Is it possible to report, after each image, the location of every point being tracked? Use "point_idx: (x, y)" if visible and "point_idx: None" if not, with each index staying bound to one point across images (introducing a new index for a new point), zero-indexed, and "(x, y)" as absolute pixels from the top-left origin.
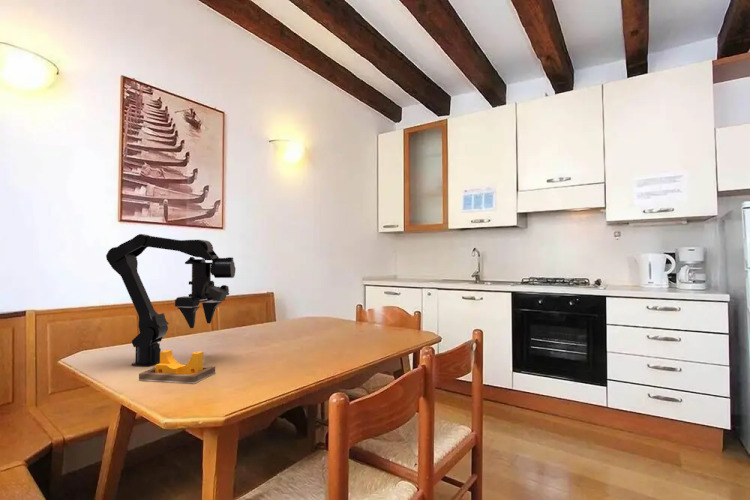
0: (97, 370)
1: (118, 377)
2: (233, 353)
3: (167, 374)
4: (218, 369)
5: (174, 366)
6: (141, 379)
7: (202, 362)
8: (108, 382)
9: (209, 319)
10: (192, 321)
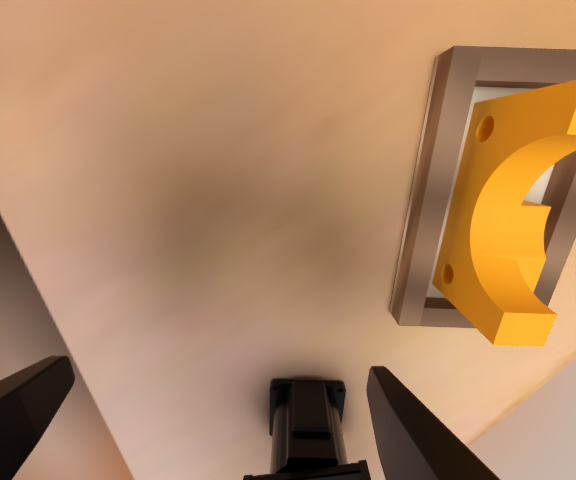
0: None
1: (470, 389)
2: (63, 171)
3: (574, 216)
4: (366, 80)
5: (516, 233)
6: None
7: (525, 92)
8: (523, 383)
9: (27, 398)
10: (449, 438)
